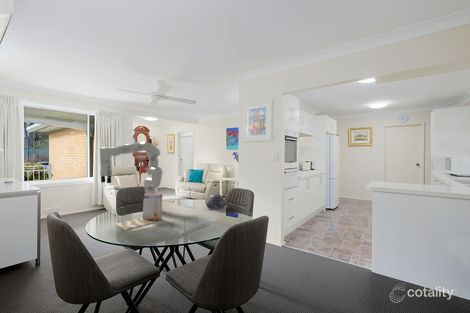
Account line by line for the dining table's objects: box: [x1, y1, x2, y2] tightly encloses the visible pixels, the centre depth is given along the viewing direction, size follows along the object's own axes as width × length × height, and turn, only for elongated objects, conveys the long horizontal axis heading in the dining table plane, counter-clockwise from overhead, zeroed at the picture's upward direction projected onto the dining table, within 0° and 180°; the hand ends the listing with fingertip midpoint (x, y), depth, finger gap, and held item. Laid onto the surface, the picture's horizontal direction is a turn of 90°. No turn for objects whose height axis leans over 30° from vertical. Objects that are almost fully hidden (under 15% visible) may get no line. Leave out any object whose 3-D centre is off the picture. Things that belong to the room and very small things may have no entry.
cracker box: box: [142, 193, 163, 221], centre depth 194 cm, size 14×6×21 cm, turn 84°
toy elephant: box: [205, 193, 229, 210], centre depth 233 cm, size 20×18×15 cm
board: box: [114, 217, 154, 231], centre depth 183 cm, size 22×20×1 cm
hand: (106, 182), depth 196 cm, fingers open, 9 cm apart
